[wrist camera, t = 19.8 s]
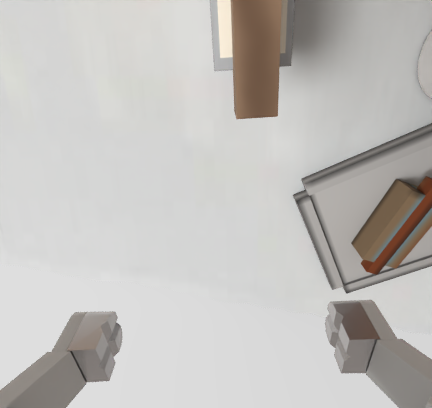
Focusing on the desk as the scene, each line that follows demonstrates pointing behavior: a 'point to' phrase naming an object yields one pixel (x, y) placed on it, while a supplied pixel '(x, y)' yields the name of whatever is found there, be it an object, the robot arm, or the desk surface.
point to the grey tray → (372, 212)
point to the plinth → (223, 33)
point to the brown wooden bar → (256, 57)
